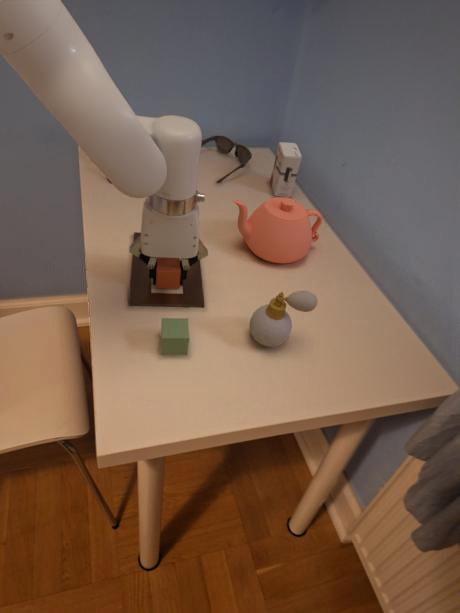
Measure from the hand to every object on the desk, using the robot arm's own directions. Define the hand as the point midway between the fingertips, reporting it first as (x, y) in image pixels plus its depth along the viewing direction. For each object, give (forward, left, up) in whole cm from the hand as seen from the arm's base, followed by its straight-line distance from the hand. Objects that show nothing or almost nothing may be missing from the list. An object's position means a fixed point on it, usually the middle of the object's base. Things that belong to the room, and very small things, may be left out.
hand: (167, 279), depth 79 cm
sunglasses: (+15, +52, -2) cm, 54 cm away
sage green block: (+1, -15, -1) cm, 15 cm away
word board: (0, +5, -1) cm, 5 cm away
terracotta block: (0, 0, 0) cm, 0 cm away
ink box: (+32, +41, -2) cm, 52 cm away
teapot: (+24, +14, -2) cm, 28 cm away
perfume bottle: (+19, -13, -2) cm, 23 cm away
